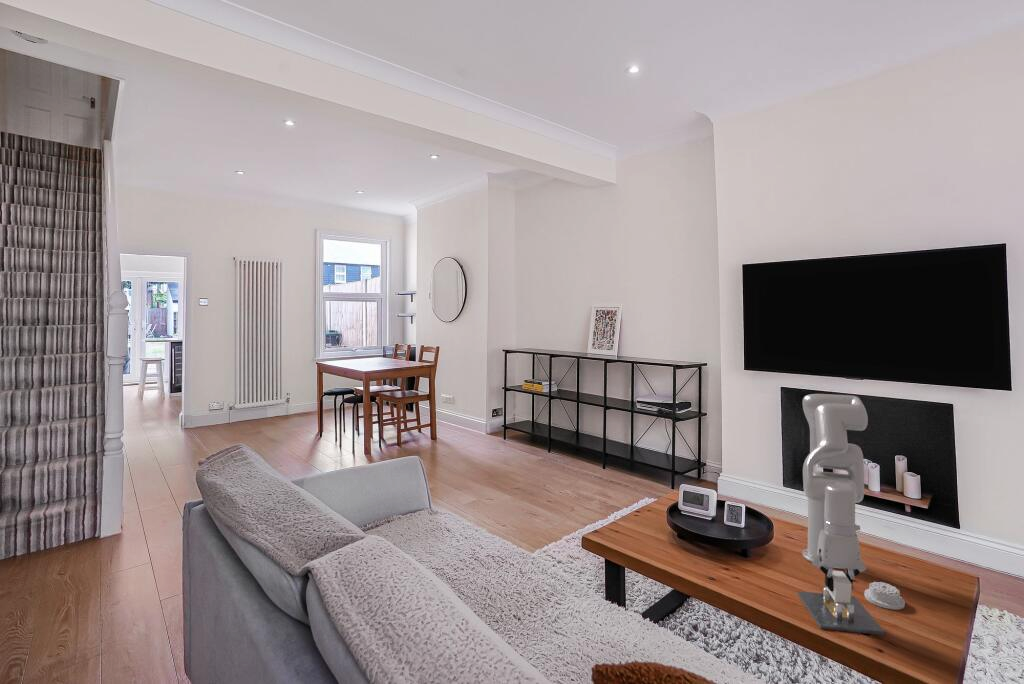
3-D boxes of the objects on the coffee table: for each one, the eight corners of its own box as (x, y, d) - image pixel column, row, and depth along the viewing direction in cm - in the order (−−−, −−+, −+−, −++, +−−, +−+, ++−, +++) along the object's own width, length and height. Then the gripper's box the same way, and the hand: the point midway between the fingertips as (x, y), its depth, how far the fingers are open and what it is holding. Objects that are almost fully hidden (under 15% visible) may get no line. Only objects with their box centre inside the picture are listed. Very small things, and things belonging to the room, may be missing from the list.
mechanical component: (905, 599, 154) (865, 589, 161) (905, 585, 154) (865, 575, 160) (904, 614, 147) (863, 602, 153) (904, 599, 146) (863, 588, 153)
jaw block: (826, 588, 150) (827, 570, 149) (841, 589, 149) (842, 571, 148) (834, 601, 144) (836, 582, 143) (850, 603, 144) (851, 584, 143)
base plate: (797, 594, 158) (797, 578, 157) (854, 599, 154) (854, 583, 154) (820, 628, 140) (820, 611, 140) (884, 635, 137) (885, 617, 136)
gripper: (865, 525, 148) (864, 586, 149) (803, 521, 151) (802, 580, 152) (878, 535, 141) (877, 599, 141) (812, 530, 144) (812, 593, 145)
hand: (838, 589), depth 147 cm, fingers closed on jaw block, 4 cm apart
